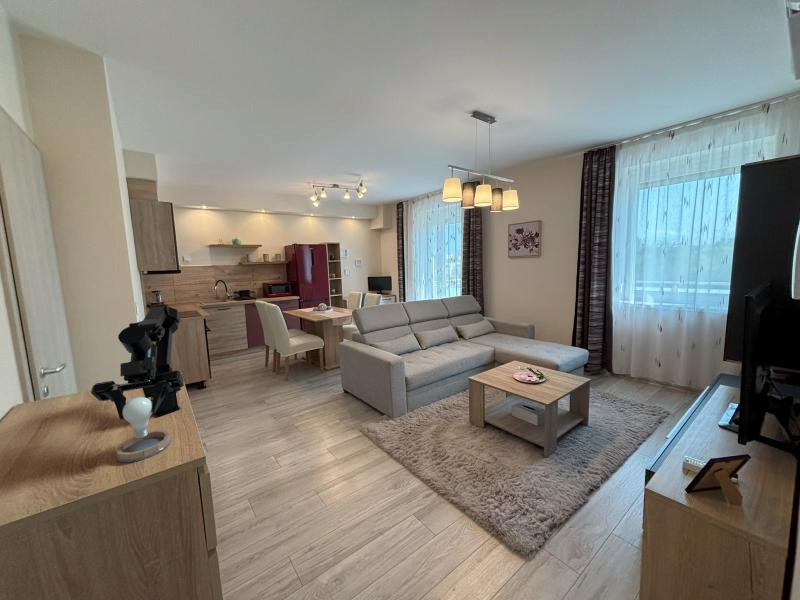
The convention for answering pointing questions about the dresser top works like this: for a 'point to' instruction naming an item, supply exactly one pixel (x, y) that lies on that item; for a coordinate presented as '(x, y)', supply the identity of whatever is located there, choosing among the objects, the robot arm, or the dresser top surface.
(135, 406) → the lightbulb
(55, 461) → the dresser top surface
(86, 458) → the dresser top surface
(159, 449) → the round dish
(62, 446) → the dresser top surface
